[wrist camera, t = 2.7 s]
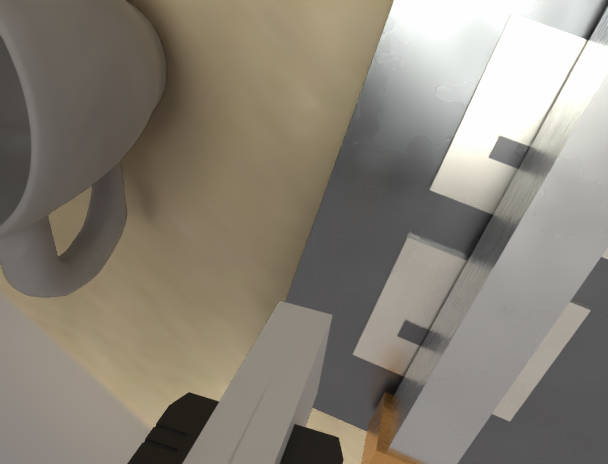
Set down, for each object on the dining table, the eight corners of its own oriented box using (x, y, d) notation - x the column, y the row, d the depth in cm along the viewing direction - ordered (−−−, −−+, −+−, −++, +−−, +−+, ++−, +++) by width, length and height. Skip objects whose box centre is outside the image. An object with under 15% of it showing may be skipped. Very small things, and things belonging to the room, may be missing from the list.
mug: (-10, -34, 21) (-324, -65, 12) (177, -79, 18) (-54, -157, 10) (79, 230, 25) (-106, 341, 17) (239, 222, 23) (117, 349, 14)
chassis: (269, 356, 25) (253, 388, 23) (457, -159, 15) (459, -186, 13) (593, 497, 24) (608, 544, 22) (1036, 26, 14) (1143, 29, 12)
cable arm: (673, -165, 12) (750, -223, 9) (820, -120, 12) (951, -164, 9) (364, 421, 22) (351, 487, 19) (440, 454, 22) (440, 527, 19)
